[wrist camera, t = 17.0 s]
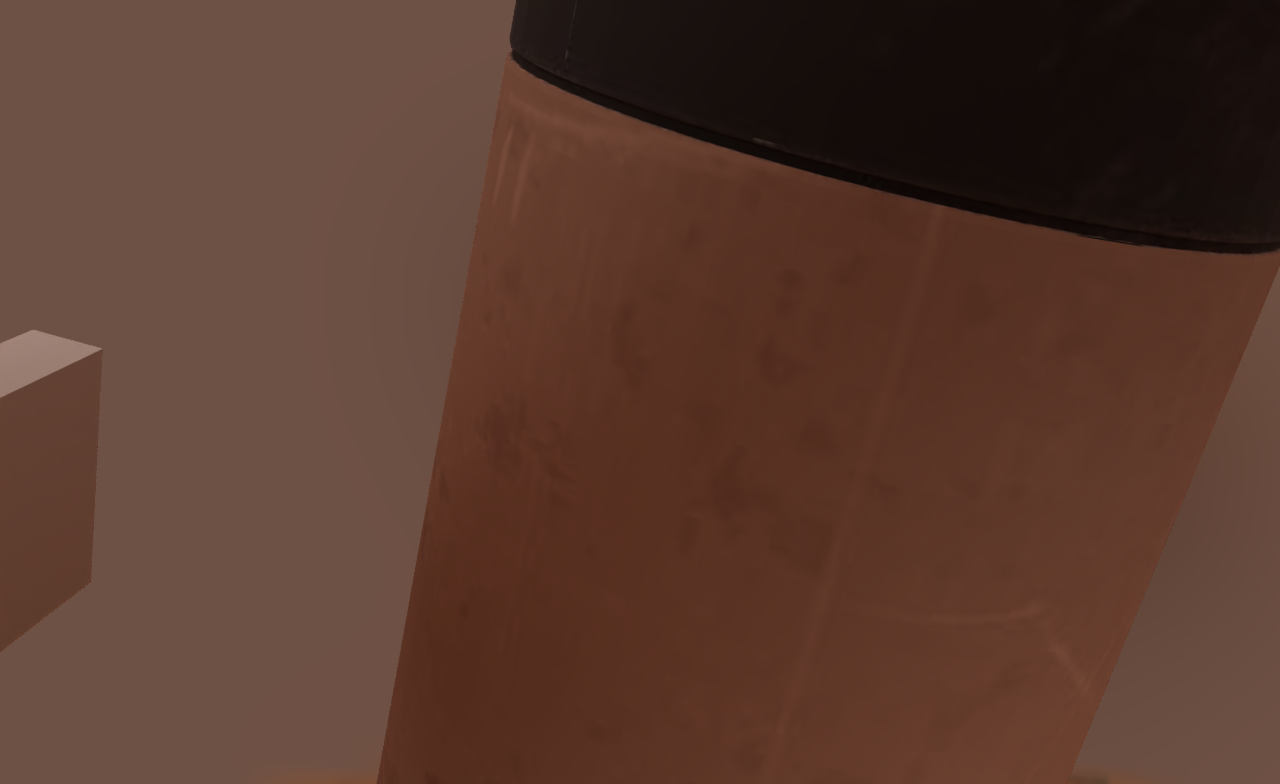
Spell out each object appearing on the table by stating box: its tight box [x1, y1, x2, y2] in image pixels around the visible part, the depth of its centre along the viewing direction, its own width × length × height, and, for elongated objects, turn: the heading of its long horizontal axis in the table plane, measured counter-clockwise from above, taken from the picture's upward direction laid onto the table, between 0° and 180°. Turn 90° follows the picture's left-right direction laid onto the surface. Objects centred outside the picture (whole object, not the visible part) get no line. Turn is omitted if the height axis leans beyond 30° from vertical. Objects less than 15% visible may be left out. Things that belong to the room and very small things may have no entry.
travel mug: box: [377, 0, 1280, 784], centre depth 14 cm, size 8×8×20 cm
